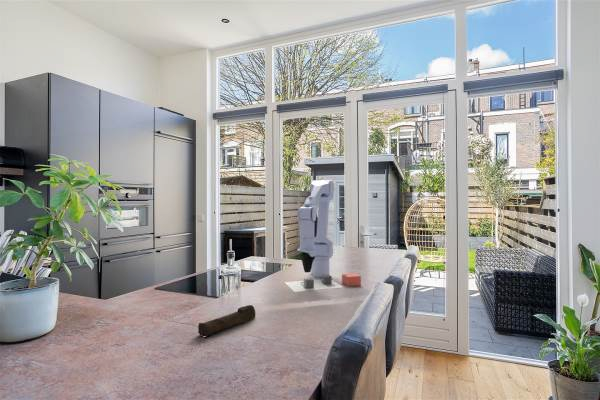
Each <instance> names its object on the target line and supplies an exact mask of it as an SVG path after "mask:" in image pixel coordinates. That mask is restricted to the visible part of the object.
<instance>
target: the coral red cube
mask: <svg viewBox="0 0 600 400" xmlns="http://www.w3.org/2000/svg"><path fill="white" fill-rule="evenodd" d="M361 277H362V276H361V275H359V274H357V273H355V272H352V273H342V274H341V282H342V284H343V285H345V286H347V287H352V286H353V287H355V286H360V287H361V286H362V278H361Z"/></svg>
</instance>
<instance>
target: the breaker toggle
mask: <svg viewBox="0 0 600 400" xmlns="http://www.w3.org/2000/svg"><path fill="white" fill-rule="evenodd" d="M314 280H315V279H313V278H312V277H309V278H303V281H304V287H305V288H314Z"/></svg>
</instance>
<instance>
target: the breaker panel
mask: <svg viewBox="0 0 600 400" xmlns="http://www.w3.org/2000/svg"><path fill="white" fill-rule="evenodd" d="M313 280H314V288H305V287H304V280H296V281H295V280H294V281H284V284H285V285H287V287H289V289H290V290H292V291H293V292H294V293H296V292H307V291H308V292H309V291H319V290H321V291H322V290H330V289H342V288H344V286H343V285H341V284H339V283H338V282H336V281H335V280H333V278H332V275H322V277H321V279H320V278H317V279H313Z"/></svg>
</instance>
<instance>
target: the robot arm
mask: <svg viewBox="0 0 600 400" xmlns="http://www.w3.org/2000/svg"><path fill="white" fill-rule="evenodd" d="M309 186H310V187H309V189H310V195H308V196H307V197H306V199H305V200H304V203H303V205H302V206H300V207H299V208H297V214H296V215H297V217H296V218H297V222H298V223H297V224H298V227H299V248H296V251H298V252H302V253H298V256H299V258H300V260H301V263H302V267H303V271H304V273H311V274H312V275H313V276H314V277H315V278H316V277H317V278H322V275H330V268H331V267H330V259H332V257H333V256H334V244H333V240H332V239H330V238H329V237H328V229H329V228H328V227H329V209H330V202H331V201H332V200H334V196H335V195H334V193H335V184H334V180H333V179H329V180H328V179H327V180H326V179H325V180H314V179H313V180H311V182H310V185H309ZM316 219H317V225H316V236H315V221H316ZM330 276H331V275H330Z"/></svg>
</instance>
